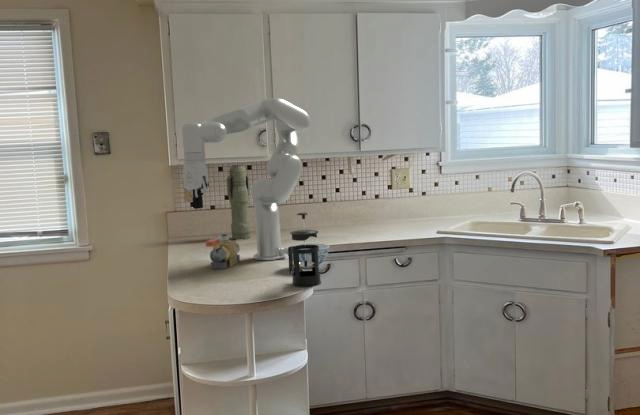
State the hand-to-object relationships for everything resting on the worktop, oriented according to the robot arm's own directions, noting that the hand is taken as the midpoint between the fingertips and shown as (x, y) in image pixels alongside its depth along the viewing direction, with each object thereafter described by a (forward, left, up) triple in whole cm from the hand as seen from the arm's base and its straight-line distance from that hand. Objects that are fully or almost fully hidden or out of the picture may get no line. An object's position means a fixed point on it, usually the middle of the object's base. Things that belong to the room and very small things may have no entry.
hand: (198, 208), depth 234 cm
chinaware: (-39, -7, -23) cm, 46 cm away
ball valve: (-5, -10, -23) cm, 25 cm away
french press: (-45, +17, -23) cm, 54 cm away
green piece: (+15, -72, -23) cm, 77 cm away
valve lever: (-5, -4, -13) cm, 15 cm away
